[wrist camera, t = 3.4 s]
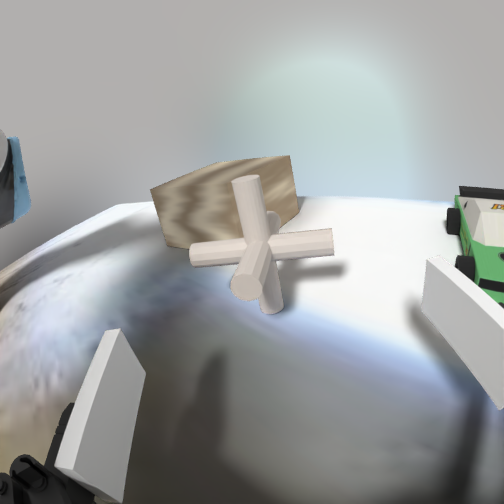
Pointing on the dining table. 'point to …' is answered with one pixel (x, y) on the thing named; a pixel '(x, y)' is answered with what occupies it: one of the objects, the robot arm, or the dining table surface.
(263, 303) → the pipe connector
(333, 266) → the dining table surface
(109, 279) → the dining table surface
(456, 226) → the toy car
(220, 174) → the birch block
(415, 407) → the dining table surface
